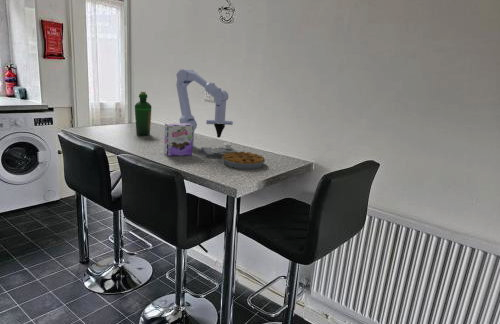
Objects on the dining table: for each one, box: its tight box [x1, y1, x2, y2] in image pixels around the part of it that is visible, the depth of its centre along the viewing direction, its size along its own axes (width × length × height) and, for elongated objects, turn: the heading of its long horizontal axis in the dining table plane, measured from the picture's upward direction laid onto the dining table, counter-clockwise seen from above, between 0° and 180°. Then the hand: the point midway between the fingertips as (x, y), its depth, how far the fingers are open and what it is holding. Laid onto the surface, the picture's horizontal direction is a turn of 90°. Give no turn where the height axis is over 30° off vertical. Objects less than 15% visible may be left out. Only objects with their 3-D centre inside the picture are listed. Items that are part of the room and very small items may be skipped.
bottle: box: [134, 91, 152, 137], centre depth 222 cm, size 11×11×28 cm
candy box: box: [163, 122, 193, 157], centre depth 179 cm, size 14×6×16 cm, turn 117°
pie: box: [221, 151, 266, 170], centre depth 173 cm, size 22×22×5 cm
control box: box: [200, 146, 238, 159], centre depth 189 cm, size 18×16×2 cm
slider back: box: [223, 142, 232, 149], centre depth 194 cm, size 3×4×3 cm
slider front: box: [211, 145, 219, 153], centre depth 183 cm, size 3×4×3 cm
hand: (218, 137), depth 191 cm, fingers closed
